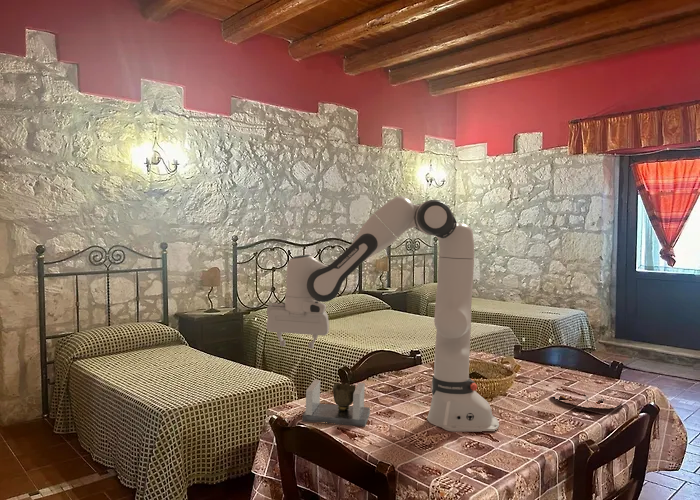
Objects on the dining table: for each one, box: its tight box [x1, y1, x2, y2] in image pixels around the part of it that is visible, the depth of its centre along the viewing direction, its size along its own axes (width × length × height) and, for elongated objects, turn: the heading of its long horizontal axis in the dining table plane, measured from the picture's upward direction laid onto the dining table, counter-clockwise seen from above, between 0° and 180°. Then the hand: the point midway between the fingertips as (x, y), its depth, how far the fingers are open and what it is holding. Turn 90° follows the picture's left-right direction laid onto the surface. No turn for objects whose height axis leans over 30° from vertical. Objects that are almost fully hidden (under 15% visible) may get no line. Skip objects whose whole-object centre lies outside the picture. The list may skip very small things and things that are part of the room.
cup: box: [332, 382, 357, 411], centre depth 178 cm, size 8×7×8 cm
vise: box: [301, 382, 371, 428], centre depth 177 cm, size 20×12×10 cm, turn 81°
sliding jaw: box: [305, 379, 321, 415], centre depth 178 cm, size 2×12×8 cm, turn 171°
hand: (296, 346), depth 178 cm, fingers open, 8 cm apart
